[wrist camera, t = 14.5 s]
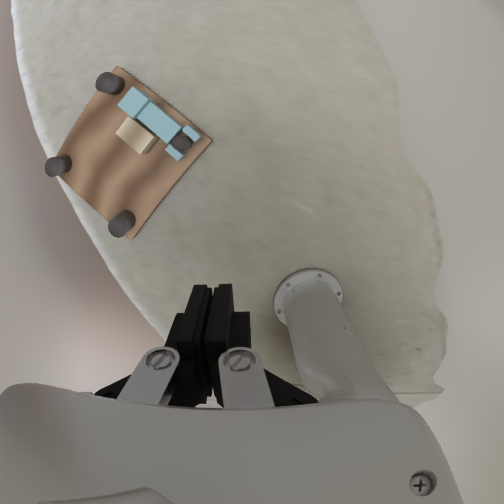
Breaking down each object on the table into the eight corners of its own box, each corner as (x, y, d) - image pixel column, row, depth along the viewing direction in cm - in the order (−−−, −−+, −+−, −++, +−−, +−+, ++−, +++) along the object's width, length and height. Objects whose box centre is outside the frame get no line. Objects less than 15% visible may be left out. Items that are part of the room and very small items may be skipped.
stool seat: (213, 140, 38) (207, 140, 31) (135, 236, 43) (119, 253, 36) (121, 68, 32) (102, 58, 25) (56, 166, 37) (32, 172, 30)
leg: (203, 136, 35) (198, 136, 31) (182, 159, 36) (175, 161, 33) (145, 87, 32) (135, 83, 28) (125, 111, 33) (114, 108, 29)
